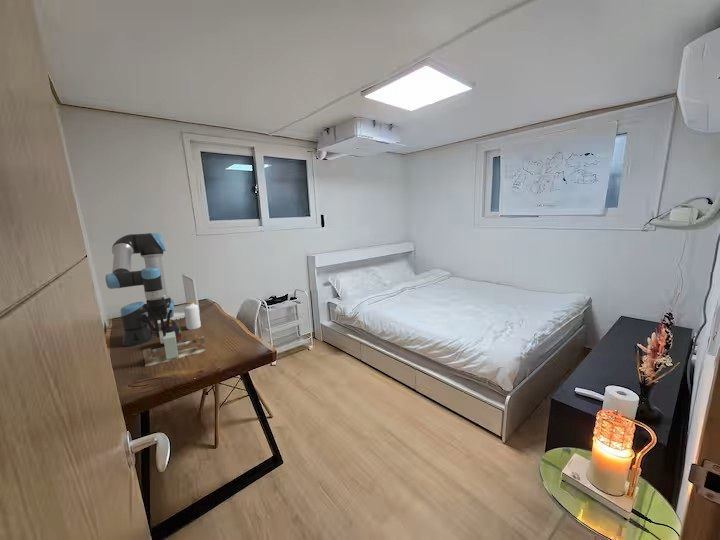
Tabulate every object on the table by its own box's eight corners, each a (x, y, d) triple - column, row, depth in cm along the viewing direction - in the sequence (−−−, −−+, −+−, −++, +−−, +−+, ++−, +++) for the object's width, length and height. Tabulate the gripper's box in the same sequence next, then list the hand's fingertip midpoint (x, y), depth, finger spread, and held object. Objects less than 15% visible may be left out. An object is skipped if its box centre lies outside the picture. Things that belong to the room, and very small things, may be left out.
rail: (145, 366, 142) (142, 351, 141) (146, 359, 150) (143, 344, 148) (206, 351, 157) (204, 337, 155) (204, 345, 164) (202, 332, 163)
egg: (185, 343, 169) (181, 318, 166) (163, 349, 161) (159, 324, 159) (180, 338, 176) (176, 314, 174) (159, 344, 169) (155, 319, 166)
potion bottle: (183, 329, 191) (179, 303, 187) (195, 325, 198) (191, 299, 195) (192, 331, 187) (188, 304, 184) (203, 326, 195) (200, 300, 192)
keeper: (166, 359, 147) (163, 339, 145) (166, 353, 154) (163, 333, 152) (178, 356, 150) (175, 336, 148) (177, 350, 157) (174, 331, 155)
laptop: (149, 313, 228) (143, 279, 223) (189, 305, 247) (184, 273, 242) (156, 324, 203) (149, 285, 198) (200, 314, 222) (195, 278, 217)
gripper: (138, 302, 138) (146, 348, 142) (170, 297, 145) (177, 341, 149) (139, 299, 144) (147, 343, 148) (170, 294, 151) (177, 336, 155)
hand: (162, 342), depth 149 cm, fingers closed
